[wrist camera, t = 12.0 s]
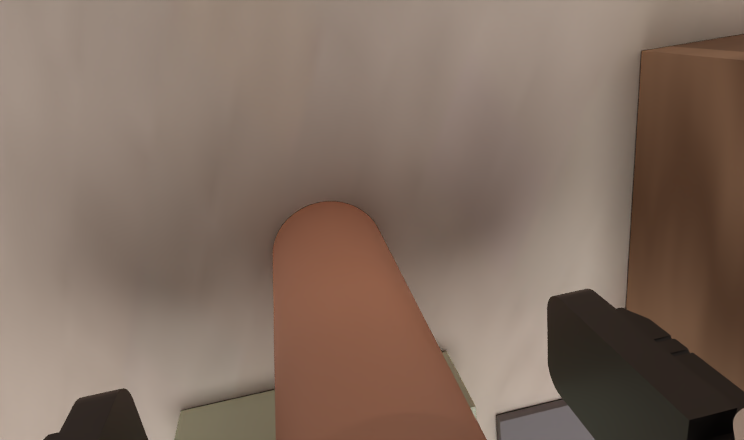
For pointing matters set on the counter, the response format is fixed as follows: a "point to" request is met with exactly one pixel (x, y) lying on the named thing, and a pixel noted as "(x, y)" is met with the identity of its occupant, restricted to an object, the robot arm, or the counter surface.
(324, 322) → the peg
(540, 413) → the grey plate with post
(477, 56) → the counter surface
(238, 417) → the peg board
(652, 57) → the brown box
